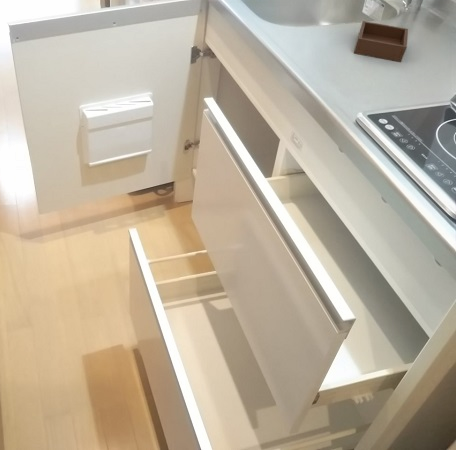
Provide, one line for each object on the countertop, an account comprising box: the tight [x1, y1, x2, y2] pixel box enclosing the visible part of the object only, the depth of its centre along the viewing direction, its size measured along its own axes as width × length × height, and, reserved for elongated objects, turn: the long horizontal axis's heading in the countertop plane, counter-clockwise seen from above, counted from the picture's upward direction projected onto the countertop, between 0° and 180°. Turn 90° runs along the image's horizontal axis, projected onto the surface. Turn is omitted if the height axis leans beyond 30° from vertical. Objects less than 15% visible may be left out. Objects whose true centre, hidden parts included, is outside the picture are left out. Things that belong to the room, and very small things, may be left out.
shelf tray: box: [353, 20, 409, 63], centre depth 120 cm, size 10×11×4 cm
